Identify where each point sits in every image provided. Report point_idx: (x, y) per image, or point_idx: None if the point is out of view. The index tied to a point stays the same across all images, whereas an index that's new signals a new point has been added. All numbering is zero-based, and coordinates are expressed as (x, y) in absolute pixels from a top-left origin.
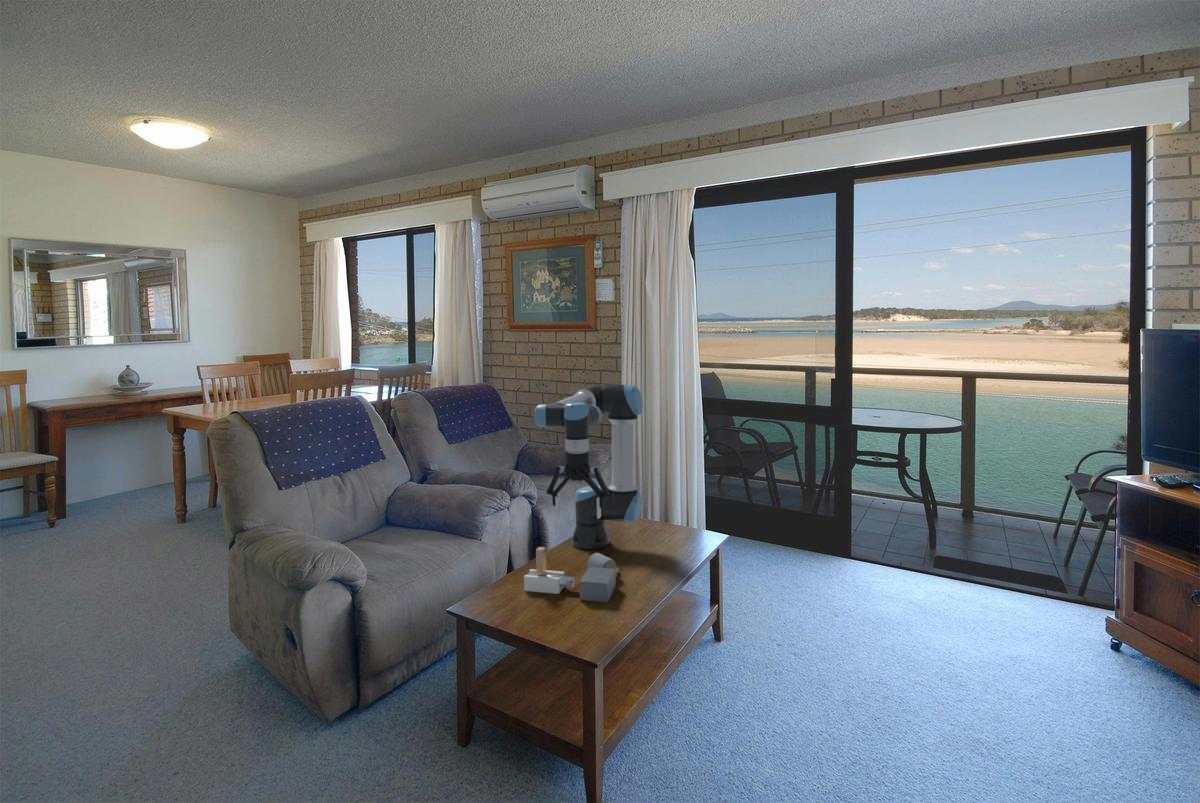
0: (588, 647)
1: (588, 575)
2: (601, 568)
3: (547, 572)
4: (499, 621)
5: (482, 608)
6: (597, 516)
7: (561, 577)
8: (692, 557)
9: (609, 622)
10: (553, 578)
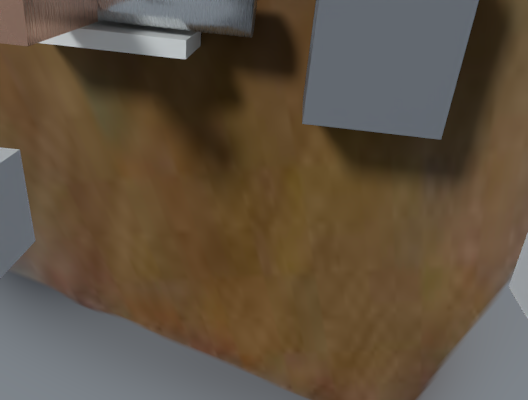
0: (366, 382)
1: (339, 45)
2: None
3: None
4: (71, 272)
5: None
6: (523, 302)
7: (191, 17)
8: None
9: (427, 260)
10: (157, 52)
